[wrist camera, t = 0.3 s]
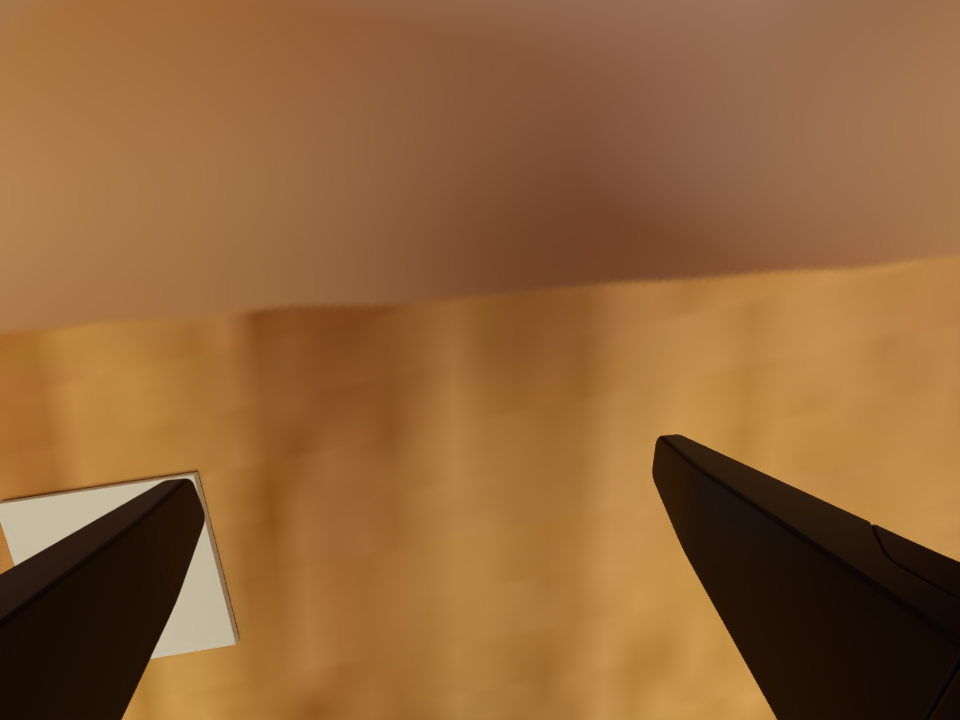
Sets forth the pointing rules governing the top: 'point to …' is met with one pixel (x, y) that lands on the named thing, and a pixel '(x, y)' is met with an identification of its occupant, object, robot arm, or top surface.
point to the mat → (55, 516)
